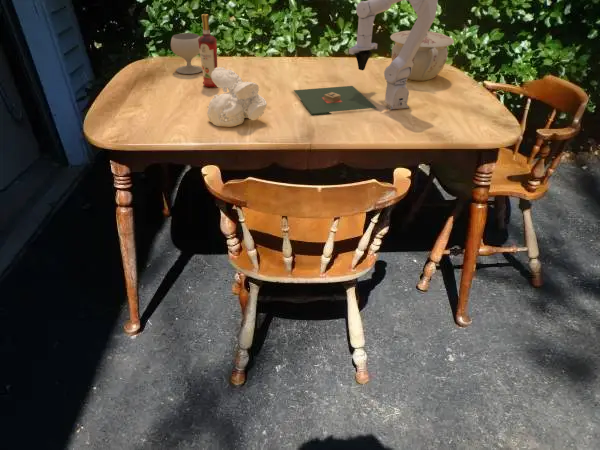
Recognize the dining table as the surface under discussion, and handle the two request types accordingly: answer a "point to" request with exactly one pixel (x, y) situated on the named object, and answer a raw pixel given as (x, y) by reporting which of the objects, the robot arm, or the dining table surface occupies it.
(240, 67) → the dining table surface
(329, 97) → the letter tile
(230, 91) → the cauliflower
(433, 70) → the chamber pot
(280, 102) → the dining table surface
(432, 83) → the dining table surface
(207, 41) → the liquor
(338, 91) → the game board
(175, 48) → the chalice
